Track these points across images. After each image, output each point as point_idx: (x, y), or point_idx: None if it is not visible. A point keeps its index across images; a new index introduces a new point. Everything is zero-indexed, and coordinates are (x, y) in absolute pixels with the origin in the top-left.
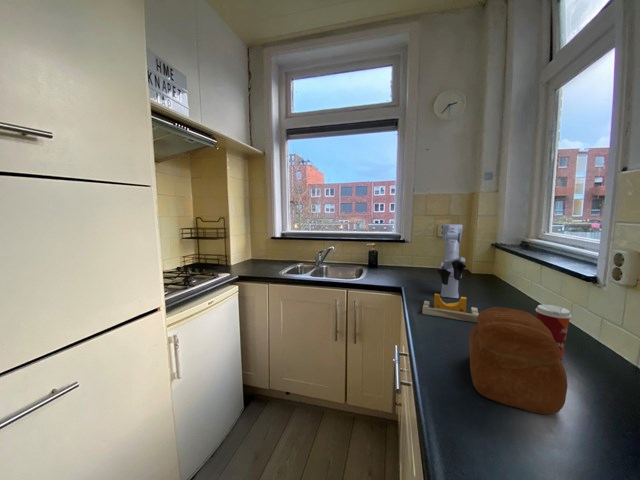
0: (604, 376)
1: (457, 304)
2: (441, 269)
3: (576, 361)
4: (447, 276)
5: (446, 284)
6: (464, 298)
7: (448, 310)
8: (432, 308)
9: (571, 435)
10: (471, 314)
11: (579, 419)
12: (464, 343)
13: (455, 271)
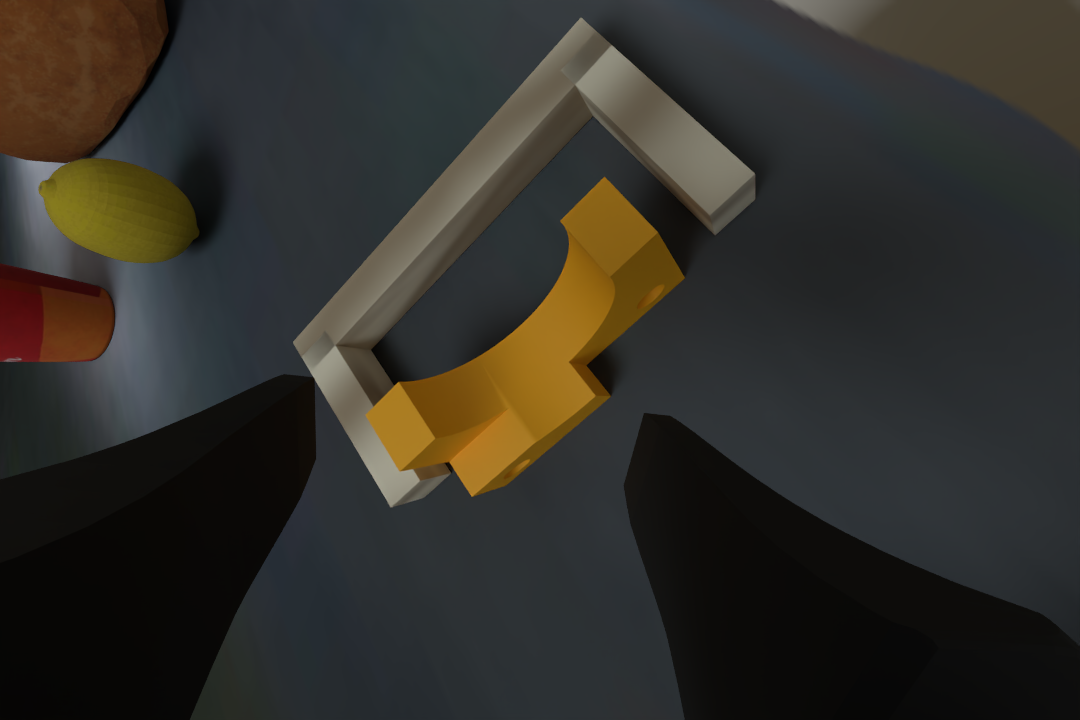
0: None
1: (465, 370)
2: (868, 661)
3: (51, 365)
4: (690, 653)
5: (628, 471)
6: (385, 416)
7: (447, 213)
8: (534, 104)
9: None
10: (332, 322)
11: None
12: (242, 57)
13: (168, 429)
